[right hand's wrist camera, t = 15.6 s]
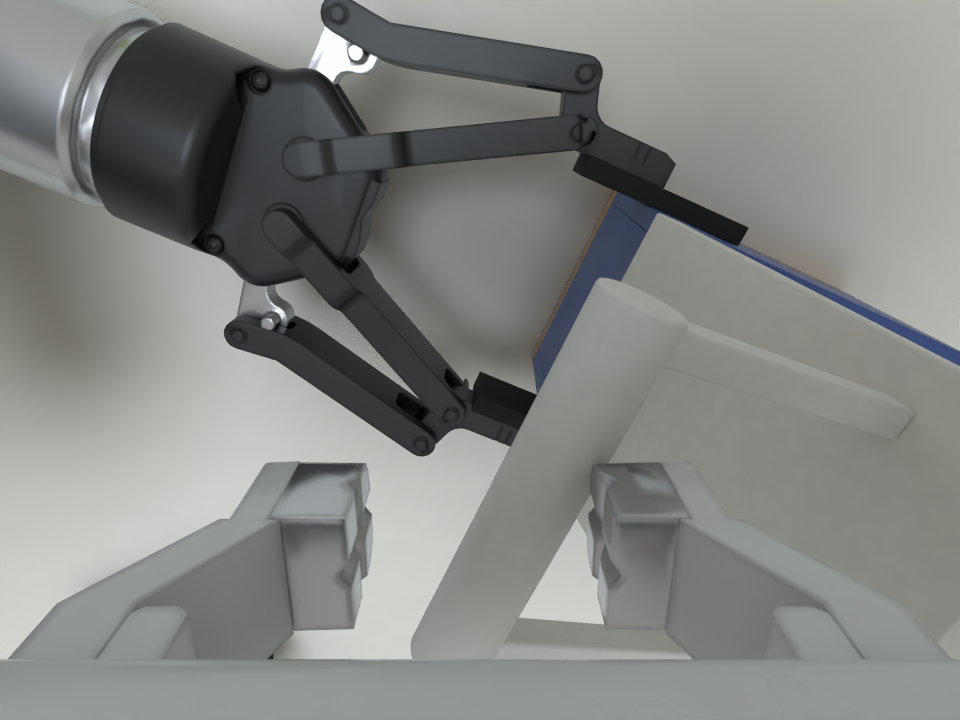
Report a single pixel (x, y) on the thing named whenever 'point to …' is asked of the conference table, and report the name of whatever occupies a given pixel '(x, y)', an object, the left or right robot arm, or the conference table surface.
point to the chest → (616, 250)
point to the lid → (719, 446)
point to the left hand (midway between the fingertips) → (667, 344)
